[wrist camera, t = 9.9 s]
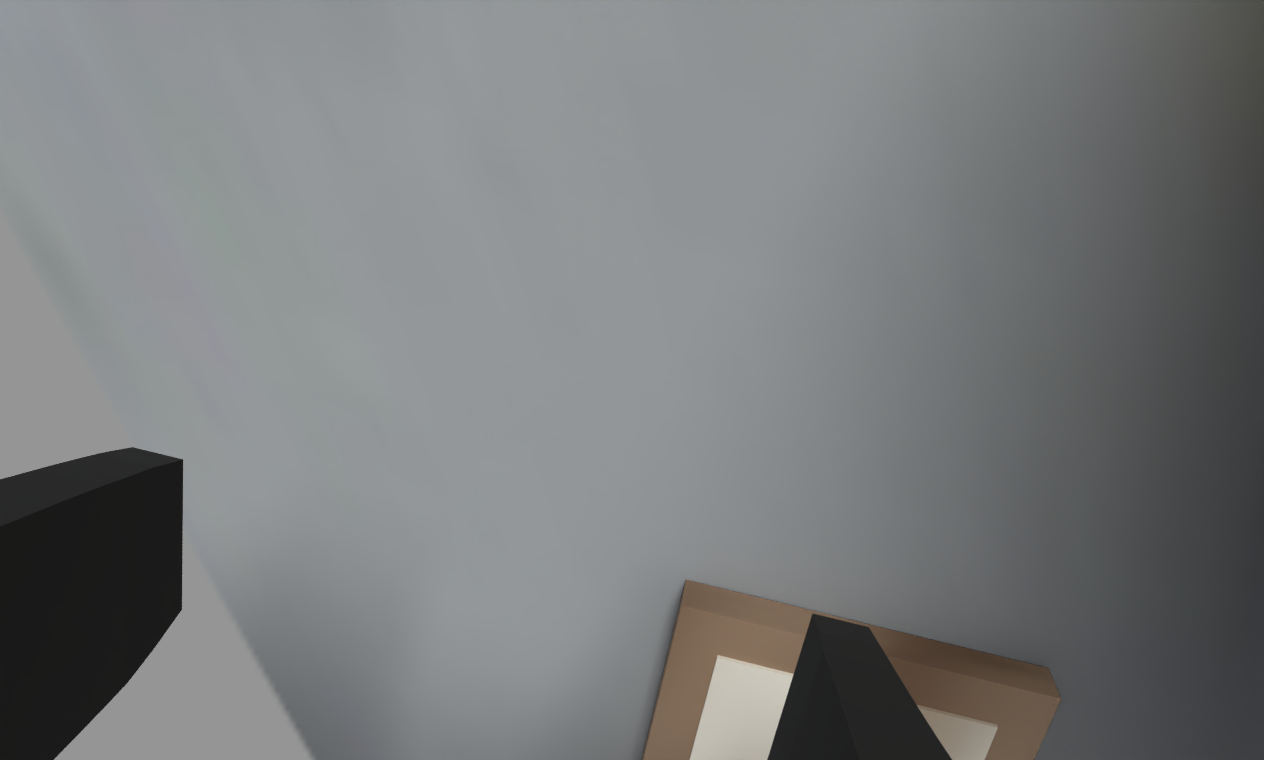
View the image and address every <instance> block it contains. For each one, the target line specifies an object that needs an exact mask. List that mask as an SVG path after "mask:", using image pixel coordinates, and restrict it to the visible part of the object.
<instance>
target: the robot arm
mask: <svg viewBox="0 0 1264 760" xmlns="http://www.w3.org/2000/svg"><path fill="white" fill-rule="evenodd" d="M182 520H183V460H182V459H178V458H174V457H170V456H166V455H162V454H158V453H154V452H150V451H146V450H141V449H137V448H133V447H132V448H127V449H121V450H115V451H109V452H105V453H100V454H96V455H91V456H87V457H83V458H79V459H75V460H71V461H67V462H63V463H59V464H56V465H52V466H48V467H44V468H41V469H37V470H33V471H30V472H26V473H22V474H19V475H15V476H11V477H8V478H4V479H0V760H54V759H55V757H57V756H58V754H59V753H60V752H61V751H62V750H63V749H64V748H65V747H66V746H67V745H68V744H69V743H70V742H71V741H72V740H73V739H74V738H75V737H76V736H77V735H78V734H79V733H80V732H81V731H82V730H83V729H84V728H85V727H86V726H87V725H88V724H89V723H90V722H91V720H92V719H93V718H94V717H95V716H96V715H97V714H98V713H99V712H100V711H101V710H102V709H103V708H104V707H105V706H106V705H107V704H108V703H109V702H110V701H111V700H112V698H113V697H114V696H115V695H116V694H117V693H118V692H119V691H120V690H121V689H122V688H123V687H124V686H125V685H126V683H128V681H129V680H130V679H131V677H132V676H133V675H134V674H135V672H136V671H137V670H138V668H139V667H140V666H141V665H142V663H143V662H144V661H145V659H146V658H147V657H148V655H149V654H150V653H151V652H152V650H153V649H154V648H155V646H156V645H157V643H158V642H159V641H160V639H161V638H162V636H163V635H164V634H165V632H166V631H167V629H168V628H169V626H170V625H171V624H172V622H173V621H174V620H175V618H176V617H177V615H178V614H179V613H180V611H181V610H182ZM767 760H952V759H951V757H950V756H949V754H948V753H947V751H946V750H945V748H944V747H943V745H942V744H941V742H940V741H939V739H938V738H937V736H936V735H935V733H934V732H933V730H932V728H931V727H930V725H929V724H928V722H927V721H926V719H925V717H924V716H923V714H922V713H921V711H920V709H919V708H918V706H917V705H916V703H915V701H914V700H913V698H912V697H911V695H910V693H909V692H908V690H907V688H906V687H905V685H904V684H903V682H902V680H901V679H900V677H899V675H898V674H897V672H896V670H895V669H894V667H893V666H892V664H891V662H890V661H889V659H888V657H887V656H886V654H885V652H884V651H883V649H882V648H881V646H880V644H879V643H878V641H877V639H876V638H875V636H874V635H873V633H872V631H871V630H870V628H869V627H866V626H862V625H858V624H854V623H850V622H846V621H842V620H838V619H834V618H830V617H825V616H821V615H817V614H813V613H812V617H811V620H810V623H809V626H808V629H807V633H806V636H805V639H804V642H803V646H802V649H801V652H800V655H799V659H798V662H797V665H796V668H795V672H794V675H793V678H792V681H791V684H790V688H789V691H788V694H787V697H786V701H785V704H784V707H783V710H782V714H781V717H780V720H779V723H778V727H777V730H776V733H775V736H774V739H773V743H772V746H771V749H770V752H769V756H768V759H767Z"/></svg>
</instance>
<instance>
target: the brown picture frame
mask: <svg viewBox="0 0 1264 760" xmlns="http://www.w3.org/2000/svg"><path fill="white" fill-rule="evenodd" d="M812 613H813V614H817V615H821V616H825V617H830V618H834V619H838V620H842V621H846V622H850V623H854V624H858V625H862V626H866V627H869V628H870V630H871V631H872V633H873V635H874V636H875V638H876V639H877V641H878V643H879V644H880V646H881V648H882V649H883V651H884V652H885V654H886V656H887V657H888V659H889V661H890V662H891V664H892V666H893V667H894V669H895V670H896V672H897V674H898V675H899V677H900V679H901V680H902V682H903V684H904V685H905V687H906V688H907V690H908V692H909V693H910V695H911V697H912V698H913V700H914V701H915V703H916V705H917V706H918V708H919V709H920V711H921V713H922V714H923V716H924V717H925V719H926V721H927V722H928V724H929V725H930V727H931V728H932V730H933V732H934V733H935V735H936V736H937V738H938V739H939V741H940V742H941V744H942V745H943V747H944V748H945V750H946V751H947V753H948V754H949V756H950V757H951V759H952V760H1034V759H1035V757H1036V755H1037V752H1038V750H1039V748H1040V746H1041V743H1042V741H1043V739H1044V737H1045V734H1046V732H1047V730H1048V728H1049V726H1050V723H1051V721H1052V719H1053V717H1054V714H1055V712H1056V710H1057V708H1058V705H1059V703H1060V701H1061V697H1060V694H1059V692H1058V690H1057V687H1056V685H1055V682H1054V680H1053V678H1052V675H1051V673H1050V670H1049V668H1046V667H1041V666H1037V665H1033V664H1029V663H1025V662H1021V661H1017V660H1013V659H1009V658H1005V657H1000V656H996V655H992V654H988V653H984V652H980V651H976V650H972V649H968V648H964V647H959V646H955V645H951V644H947V643H943V642H939V641H935V640H931V639H927V638H923V637H918V636H914V635H910V634H906V633H902V632H898V631H894V630H890V629H886V628H882V627H877V626H873V625H869V624H865V623H861V622H857V621H853V620H849V619H845V618H841V617H836V616H832V615H828V614H824V613H820V612H816V611H812V610H808V609H804V608H800V607H795V606H791V605H787V604H783V603H779V602H775V601H771V600H767V599H763V598H759V597H754V596H750V595H746V594H742V593H738V592H734V591H730V590H726V589H722V588H718V587H713V586H709V585H705V584H701V583H697V582H693V581H689V580H686V581H685V585H684V589H683V593H682V597H681V601H680V605H679V610H678V614H677V618H676V622H675V626H674V630H673V634H672V638H671V642H670V646H669V650H668V654H667V659H666V663H665V667H664V671H663V675H662V679H661V683H660V687H659V691H658V695H657V699H656V703H655V708H654V712H653V716H652V720H651V724H650V728H649V732H648V736H647V740H646V744H645V748H644V752H643V757H642V760H767V759H768V756H769V752H770V749H771V746H772V743H773V739H774V736H775V733H776V730H777V727H778V723H779V720H780V717H781V714H782V710H783V707H784V704H785V701H786V697H787V694H788V691H789V688H790V684H791V681H792V678H793V675H794V672H795V668H796V665H797V662H798V659H799V655H800V652H801V649H802V646H803V642H804V639H805V636H806V633H807V629H808V626H809V623H810V620H811V617H812Z"/></svg>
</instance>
